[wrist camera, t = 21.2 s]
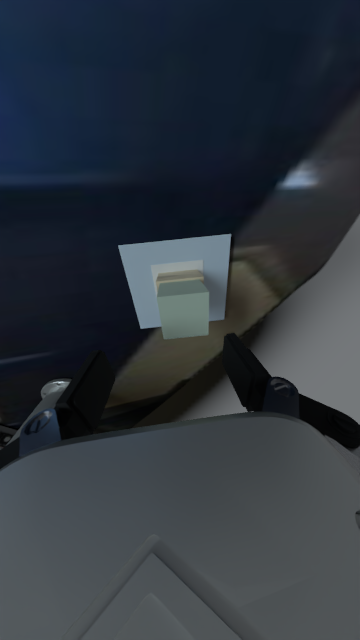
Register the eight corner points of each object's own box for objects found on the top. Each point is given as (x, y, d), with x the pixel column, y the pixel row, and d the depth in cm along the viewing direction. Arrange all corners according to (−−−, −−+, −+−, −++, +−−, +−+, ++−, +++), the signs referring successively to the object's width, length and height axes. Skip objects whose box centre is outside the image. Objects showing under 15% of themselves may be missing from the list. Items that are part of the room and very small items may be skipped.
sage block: (199, 314, 20) (208, 334, 16) (165, 317, 20) (164, 339, 16) (199, 279, 18) (209, 291, 13) (159, 283, 17) (156, 297, 13)
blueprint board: (222, 316, 28) (224, 319, 27) (141, 325, 27) (140, 328, 26) (228, 234, 21) (231, 234, 20) (120, 245, 20) (117, 245, 20)
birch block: (197, 304, 25) (203, 318, 20) (164, 308, 25) (162, 322, 20) (196, 269, 22) (203, 276, 17) (158, 273, 22) (155, 281, 17)
